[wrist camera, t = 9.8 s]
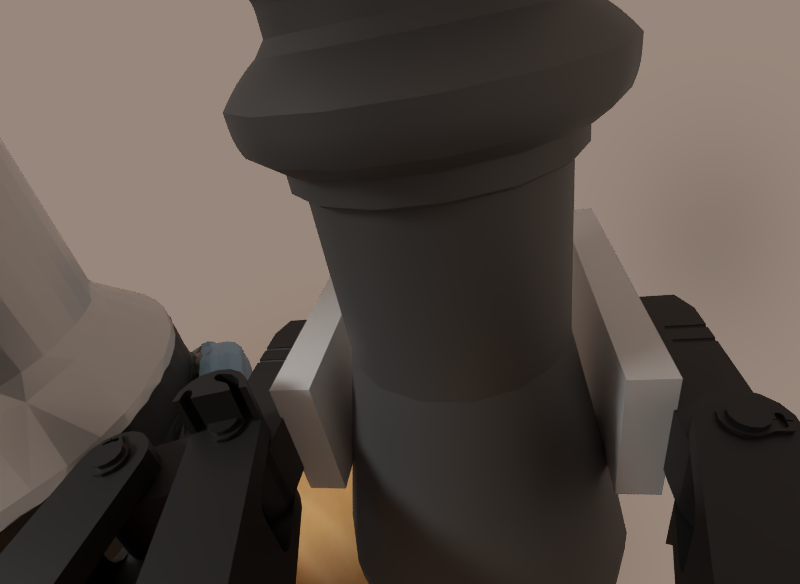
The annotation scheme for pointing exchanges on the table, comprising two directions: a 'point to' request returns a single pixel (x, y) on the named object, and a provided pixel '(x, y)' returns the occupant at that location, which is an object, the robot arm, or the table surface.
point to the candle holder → (453, 266)
